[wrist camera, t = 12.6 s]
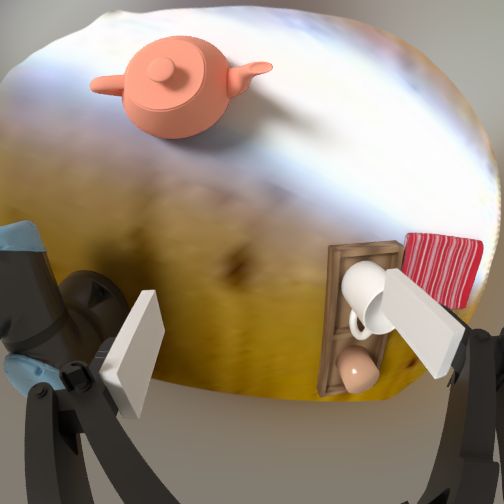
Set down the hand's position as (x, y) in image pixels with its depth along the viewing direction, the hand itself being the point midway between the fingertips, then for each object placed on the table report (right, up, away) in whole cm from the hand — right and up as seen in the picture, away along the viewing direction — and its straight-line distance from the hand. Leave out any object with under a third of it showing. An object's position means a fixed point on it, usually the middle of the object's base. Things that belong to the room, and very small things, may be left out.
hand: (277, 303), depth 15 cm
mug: (+17, -4, +32) cm, 37 cm away
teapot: (-11, +26, +21) cm, 35 cm away
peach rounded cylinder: (+19, -19, +38) cm, 46 cm away
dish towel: (+37, -2, +35) cm, 51 cm away
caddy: (+18, -11, +36) cm, 42 cm away
